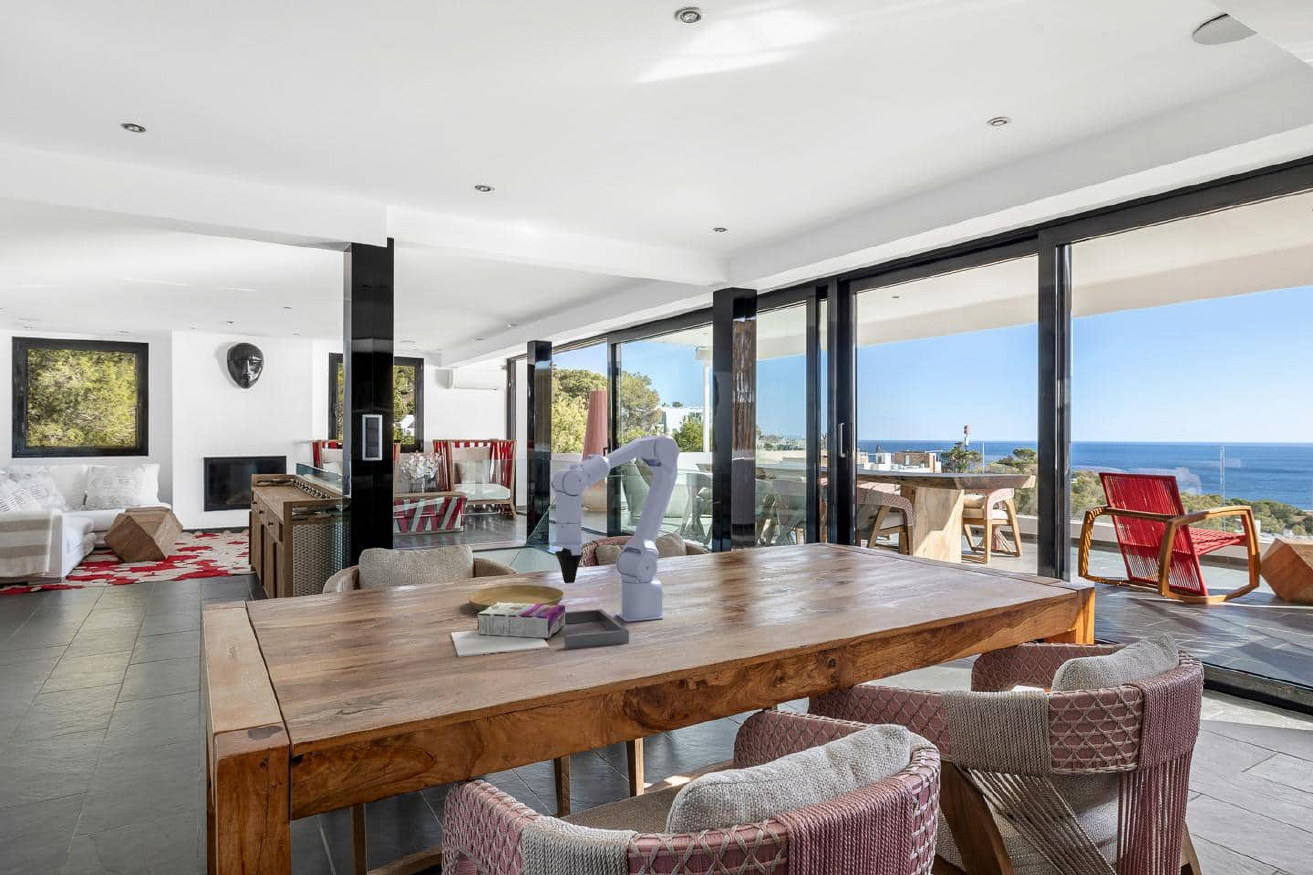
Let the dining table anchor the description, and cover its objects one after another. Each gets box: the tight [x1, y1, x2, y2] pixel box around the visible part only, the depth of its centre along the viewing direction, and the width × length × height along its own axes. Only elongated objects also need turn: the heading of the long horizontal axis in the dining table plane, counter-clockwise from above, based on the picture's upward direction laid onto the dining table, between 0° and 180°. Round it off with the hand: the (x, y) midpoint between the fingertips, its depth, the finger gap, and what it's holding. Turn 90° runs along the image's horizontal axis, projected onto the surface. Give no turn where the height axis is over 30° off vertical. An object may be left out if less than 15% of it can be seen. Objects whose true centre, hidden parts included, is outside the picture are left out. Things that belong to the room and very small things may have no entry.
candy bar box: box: [477, 602, 566, 639], centre depth 165 cm, size 11×5×16 cm
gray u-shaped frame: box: [563, 608, 630, 650], centre depth 165 cm, size 14×21×2 cm, turn 20°
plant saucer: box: [467, 584, 565, 612], centre depth 192 cm, size 24×24×3 cm
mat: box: [450, 629, 550, 658], centre depth 159 cm, size 18×18×1 cm
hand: (569, 582), depth 169 cm, fingers closed
